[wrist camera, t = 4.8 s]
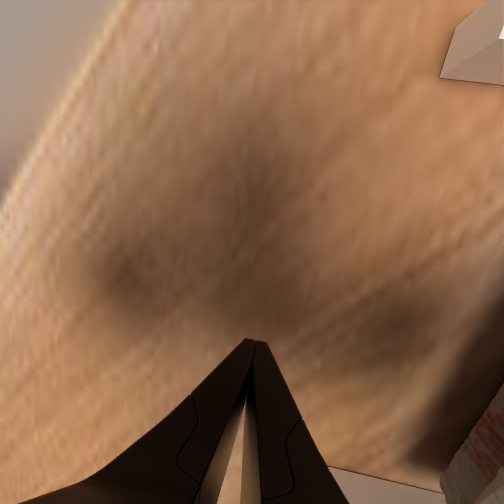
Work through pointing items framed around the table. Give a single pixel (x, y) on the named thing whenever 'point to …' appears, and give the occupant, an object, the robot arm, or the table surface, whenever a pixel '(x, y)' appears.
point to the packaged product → (479, 461)
